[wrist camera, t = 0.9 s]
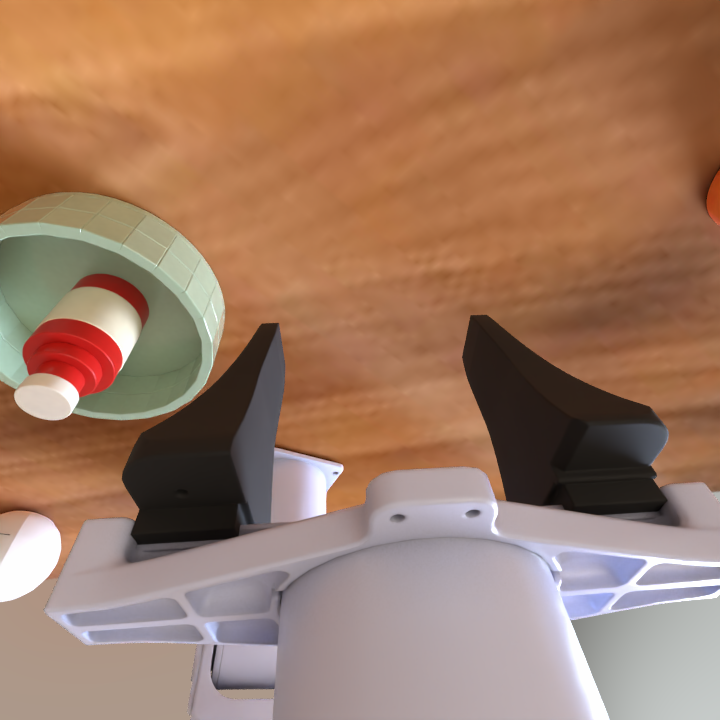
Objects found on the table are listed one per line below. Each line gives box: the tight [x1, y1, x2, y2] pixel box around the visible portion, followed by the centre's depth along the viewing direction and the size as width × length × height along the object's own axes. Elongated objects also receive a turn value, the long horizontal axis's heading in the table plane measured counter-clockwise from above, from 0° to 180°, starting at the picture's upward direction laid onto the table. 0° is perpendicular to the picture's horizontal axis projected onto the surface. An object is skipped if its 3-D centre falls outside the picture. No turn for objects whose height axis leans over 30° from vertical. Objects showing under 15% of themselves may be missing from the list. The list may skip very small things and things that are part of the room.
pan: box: [0, 192, 225, 420], centre depth 24 cm, size 13×13×4 cm
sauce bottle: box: [14, 274, 149, 420], centre depth 22 cm, size 4×4×8 cm
